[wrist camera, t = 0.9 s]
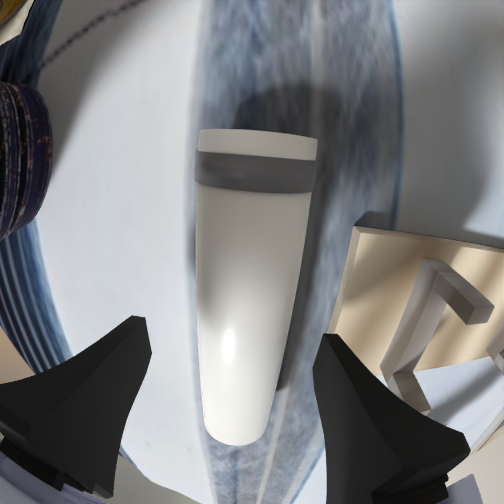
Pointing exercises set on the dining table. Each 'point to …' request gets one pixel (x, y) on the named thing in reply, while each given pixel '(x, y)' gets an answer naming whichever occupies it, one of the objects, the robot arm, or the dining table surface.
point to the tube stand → (419, 306)
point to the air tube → (247, 269)
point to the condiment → (12, 17)
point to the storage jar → (22, 155)
